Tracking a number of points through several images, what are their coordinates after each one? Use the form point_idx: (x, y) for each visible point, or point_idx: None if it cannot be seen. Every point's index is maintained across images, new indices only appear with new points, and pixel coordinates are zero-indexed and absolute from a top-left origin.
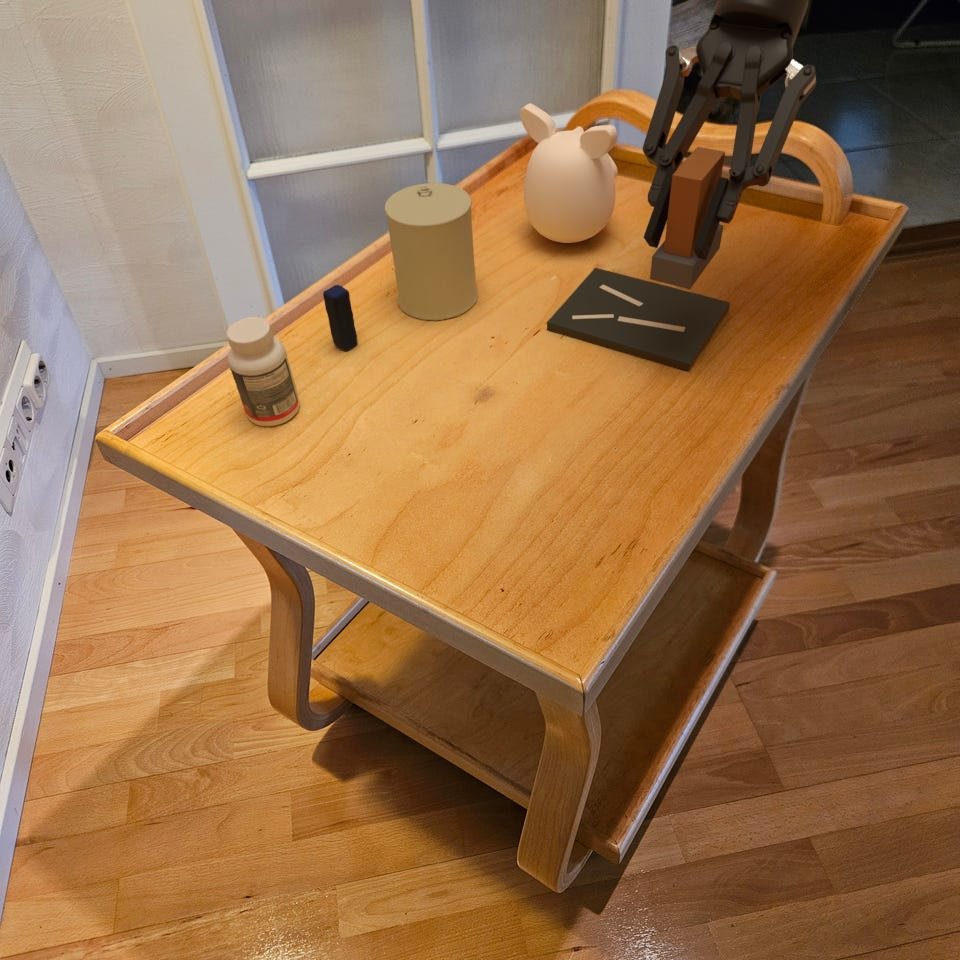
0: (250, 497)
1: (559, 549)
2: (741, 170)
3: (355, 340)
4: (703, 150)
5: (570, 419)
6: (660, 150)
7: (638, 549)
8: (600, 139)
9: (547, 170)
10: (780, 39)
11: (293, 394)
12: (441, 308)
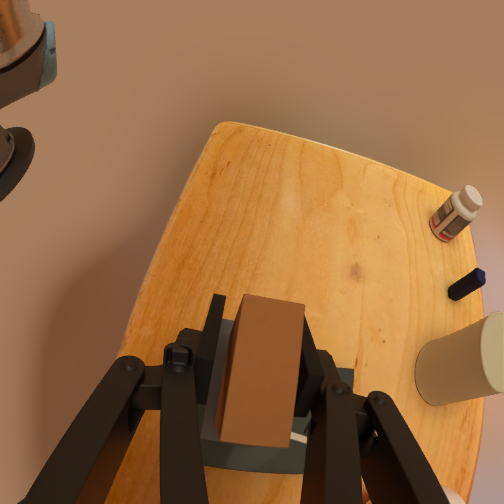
0: (403, 176)
1: (251, 166)
2: (167, 347)
3: (450, 293)
4: (270, 431)
5: (286, 263)
6: (358, 409)
7: (209, 173)
8: None
9: (447, 494)
10: None
11: (438, 221)
12: (431, 344)
